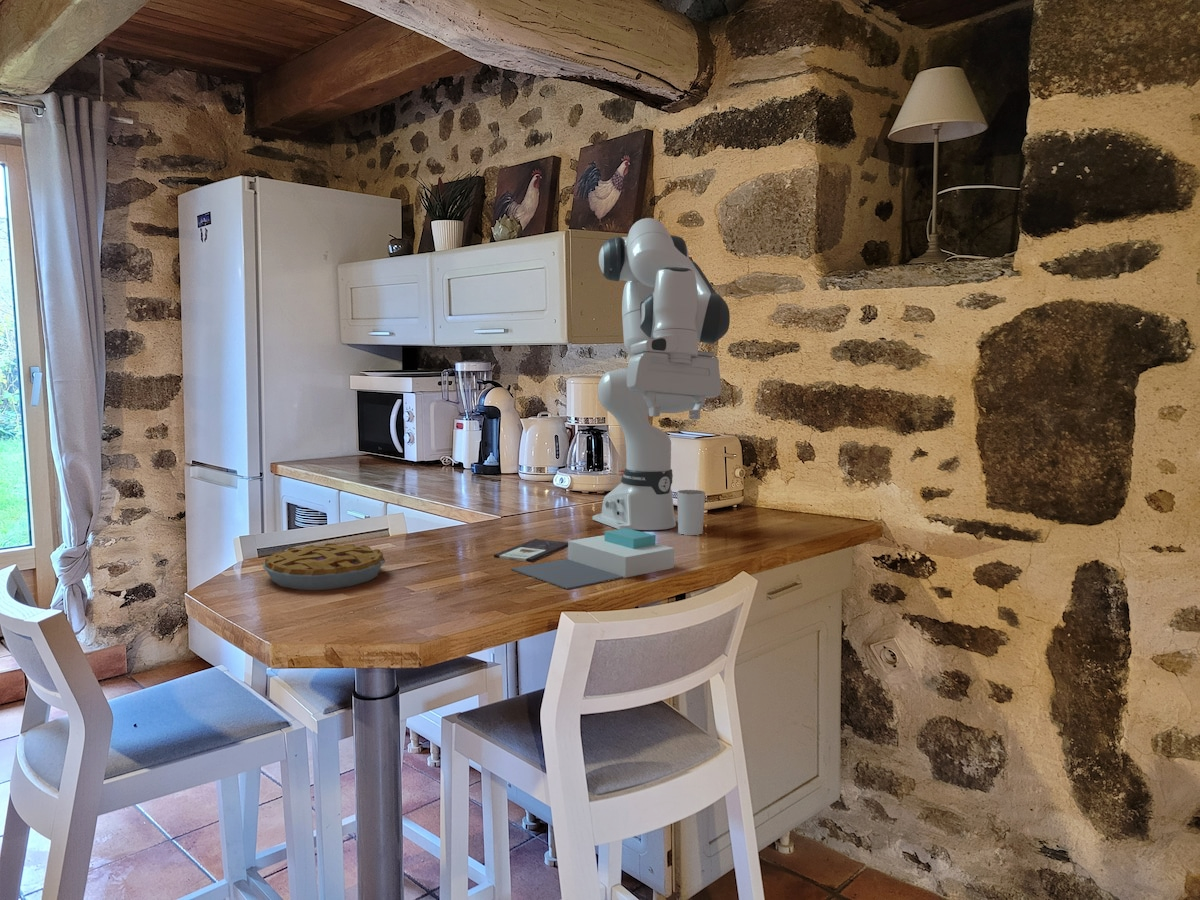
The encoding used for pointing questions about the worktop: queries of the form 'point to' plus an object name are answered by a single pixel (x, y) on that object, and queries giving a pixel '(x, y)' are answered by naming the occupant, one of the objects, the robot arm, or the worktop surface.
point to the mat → (566, 573)
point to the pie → (324, 566)
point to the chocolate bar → (531, 550)
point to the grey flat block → (620, 556)
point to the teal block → (629, 538)
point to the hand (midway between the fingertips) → (674, 417)
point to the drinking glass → (690, 511)
